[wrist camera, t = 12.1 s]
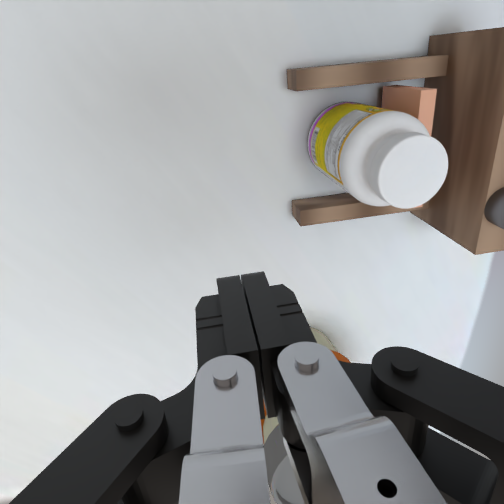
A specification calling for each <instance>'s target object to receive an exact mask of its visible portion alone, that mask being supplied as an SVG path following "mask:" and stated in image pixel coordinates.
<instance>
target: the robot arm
mask: <svg viewBox="0 0 504 504" xmlns="http://www.w3.org/2000/svg"><path fill="white" fill-rule="evenodd" d="M241 283H242V284H241ZM217 286H218V293H219V294H217V295H211V296H205V297H202V298H201V299H200V301H199V303H198V304H197V306H196V330H197V331H196V333H197V358H198V370H197V373H196V376H195V378H194V379H193V381H192V382H191V383H190V384H189V385H188V386H187V387H186V388H185V389H184V390H182V391H181V392H179V393H177V394H175V395H174V396H171V397H169V398H167V399H165V400H163V401H159V400H158V399H157V398H156V397H154V396H152V395H148V394H134V395H130V396H127V397H124V398H122V399H120V400H118V401H116V402H115V403H113V404H112V405H111V406H110V407H109V408H107V409H106V410H105V411H104V412H103V413H102V414H101V415H100V416H99V417H98V418H97V419H96V420H95V421H94V422H93V423H92V424H91V425H90V426H89V427H88V428H87V429H86V430H85V431H84V432H83V433H81V434H80V435H79V436H78V437H77V438H76V439H75V440H74V441H73V442H72V443H71V444H70V445H69V446H68V447H67V448H66V449H65V450H64V451H63V452H62V453H61V454H60V455H59V456H58V457H57V458H56V459H55V460H54V461H53V462H51V463H50V464H49V465H48V466H47V467H46V468H45V469H44V470H43V471H42V472H41V473H40V474H39V475H38V476H37V477H36V478H35V479H34V480H33V481H32V482H31V483H30V484H29V485H28V486H27V487H26V488H25V489H24V490H23V491H22V492H20V493H19V494H18V495H17V496H16V497H15V498H14V499H13V500H12V501H11V502H10V503H9V504H271V503H270V495H269V486H268V478H267V469H266V461H265V452H264V444H263V436H262V428H261V420H262V419H265V411H264V404H265V408H266V412H267V417H268V418H273V417H277V419H278V423H279V427H280V431H281V433H282V435H283V441H284V446H285V449H286V452H287V454H288V457H289V460H290V463H291V466H292V469H293V472H294V475H295V478H296V480H297V483H298V486H299V489H300V492H301V495H302V498H303V501H304V504H504V387H502V386H500V385H498V384H495V383H493V382H491V381H488V380H486V379H483V378H481V377H478V376H476V375H474V374H471V373H469V372H467V371H464V370H462V369H459V368H457V367H455V366H452V365H450V364H448V363H445V362H443V361H440V360H438V359H436V358H433V357H431V356H428V355H426V354H424V353H421V352H419V351H416V350H414V349H410V348H406V347H388V348H385V349H382V350H380V351H379V352H377V353H376V354H375V355H374V357H373V359H372V364H360V363H349V362H343V361H339V360H337V358H336V357H335V355H334V354H333V353H332V351H331V350H330V349H328V348H327V347H325V346H323V345H321V344H318V343H317V341H316V339H315V337H314V335H313V333H312V331H311V329H310V326H309V324H308V322H307V320H306V318H305V316H304V314H303V313H302V309H301V307H300V305H299V304H298V301H297V299H296V297H295V294H294V292H293V291H291V290H290V289H289V288H287V287H286V286H284V285H283V284H281V285H274V286H269V284H268V281H267V278H266V276H265V273H264V272H257V273H250V274H244V275H241V280H240V276H239V275H237V276H230V277H224V278H218V279H217ZM263 399H264V402H263ZM428 425H430V426H432V427H434V428H435V429H437V430H439V431H441V432H443V433H445V434H447V435H449V436H451V437H453V438H454V439H456V440H458V441H460V442H462V443H464V444H466V445H468V446H469V447H471V448H473V449H475V450H477V451H479V452H481V453H482V454H484V455H486V456H487V457H488V458H489V459H491V460H488V459H486V458H484V457H482V456H480V455H478V454H477V453H475V452H473V451H471V450H469V449H467V448H465V447H463V446H462V445H460V444H458V443H456V442H454V441H452V440H450V439H448V438H447V437H445V436H443V435H441V434H439V433H437V432H435V431H434V430H432V429H430V428H428Z"/></svg>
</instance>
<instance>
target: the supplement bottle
mask: <svg viewBox="0 0 504 504" xmlns="http://www.w3.org/2000/svg"><path fill="white" fill-rule="evenodd" d="M308 152H309V155H310V158H311V160H312V162H313V164H314V165H315V166H316V167H317V168H318V169H319V170H320V171H321V172H322V173H324V174H325V175H326V176H327V177H329V178H330V179H331V180H333V181H334V182H335V183H337V184H338V185H339V186H341V187H342V188H343V189H344V190H346V191H347V192H348V193H349V194H351V195H352V196H353V197H354V198H356V199H357V200H359V201H360V202H362V203H365V204H368V205H371V206H389V205H392V206H394V207H396V208H401V209H409V208H414V207H417V206H420V205H422V204H424V203H425V202H427V201H428V200H430V199H431V198H432V197H433V196H434V195H435V194H436V193H437V192H438V190H439V189H440V188H441V186H442V184H443V182H444V180H445V178H446V175H447V171H448V157H447V153H446V150H445V148H444V147H443V145H442V144H441V143H440V142H439V141H438V140H436V139H435V138H433V137H431V136H430V135H429V133H428V131H427V129H426V127H425V126H424V125H423V124H422V123H421V122H420V121H419V120H418V119H417V118H415V117H413V116H412V115H409V114H407V113H403V112H399V111H394V110H389V109H384V108H379V107H375V106H369V105H365V104H360V103H354V102H341V103H337V104H334V105H332V106H330V107H328V108H327V109H325V110H324V111H323V112H322V113H321V114H320V115H319V116H318V117H317V118H316V120H315V121H314V123H313V125H312V127H311V129H310V132H309V136H308Z"/></svg>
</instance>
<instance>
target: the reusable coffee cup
mask: <svg viewBox="0 0 504 504" xmlns="http://www.w3.org/2000/svg"><path fill="white" fill-rule="evenodd" d="M310 329H311V331H312V333H313V335H314V337H315V339H316V341H317V343H318V344H321V345H323V346H325V347H327V348H328V349H330V350H331V351H332V353H333V354H334V355H335V357H336V358H337V360H339V361H343V362H349V363H351V362H350V361H349V360H348V359H347V358H346V357H345V356H343V355H342V354H340V353H338V352H337V350H336V349H335V348H334V346H333V345H332V344H331V342H330V341H329V340H328V338H327V337H326V336H325V335H324V334H323V333H322V332H320V331H319V330H317V329H314V328H311V327H310ZM263 402H264V399H263ZM264 411H265V419H262V420H261V428H262V436H263V444H264V452H265V461H266V469H267V478H268V484H269V487H270V490H271V493H272V496H273V498H274V501H275V502H276V503H277V504H304V501H303V498H302V495H301V492H300V489H299V486H298V483H297V480H296V478H295V475H294V472H293V469H292V466H291V463H290V460H289V457H288V454H287V452H286V449H285V446H284V441H283V435H282V433H281V431H280V427H279V423H278V419H277V417H273V418H268V417H267V412H266V408H265V404H264Z"/></svg>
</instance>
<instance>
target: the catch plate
mask: <svg viewBox="0 0 504 504" xmlns="http://www.w3.org/2000/svg"><path fill="white" fill-rule="evenodd" d="M436 93H437V89H433V88H422V87H412V86H402V85H391V86H383V94H382V108H384V109H389V110H394V111H399V112H403V113H407V114H409V115H412V116H413V117H415V118H417V119H418V120H419V121H420V122H421V123H422V124H423V125H424V126H425V127H426V129H427V131H428V133H429V135H430V136H431V133H432V125H433V117H434V109H435V101H436ZM422 206H423V204H422V205H420V206H417V207H422ZM417 207H414V208H417ZM409 209H410V208H409Z"/></svg>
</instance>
